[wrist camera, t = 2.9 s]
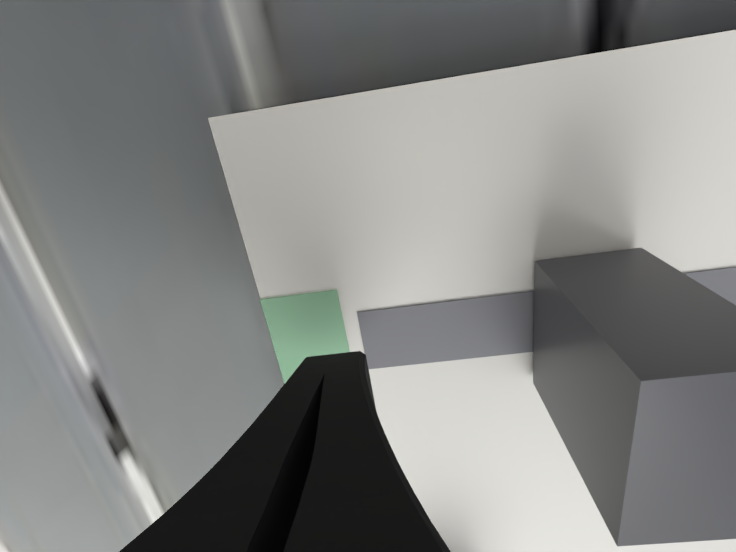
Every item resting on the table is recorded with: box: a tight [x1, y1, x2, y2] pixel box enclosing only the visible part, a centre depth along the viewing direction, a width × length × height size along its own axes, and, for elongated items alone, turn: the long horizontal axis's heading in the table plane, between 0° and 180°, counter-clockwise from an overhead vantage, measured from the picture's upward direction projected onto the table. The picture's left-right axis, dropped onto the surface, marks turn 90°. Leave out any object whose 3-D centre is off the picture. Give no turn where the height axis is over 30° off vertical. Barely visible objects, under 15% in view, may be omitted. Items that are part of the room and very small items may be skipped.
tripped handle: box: [533, 248, 736, 546], centre depth 8 cm, size 2×4×4 cm, turn 9°
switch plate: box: [208, 30, 736, 552], centre depth 14 cm, size 16×24×2 cm, turn 9°
